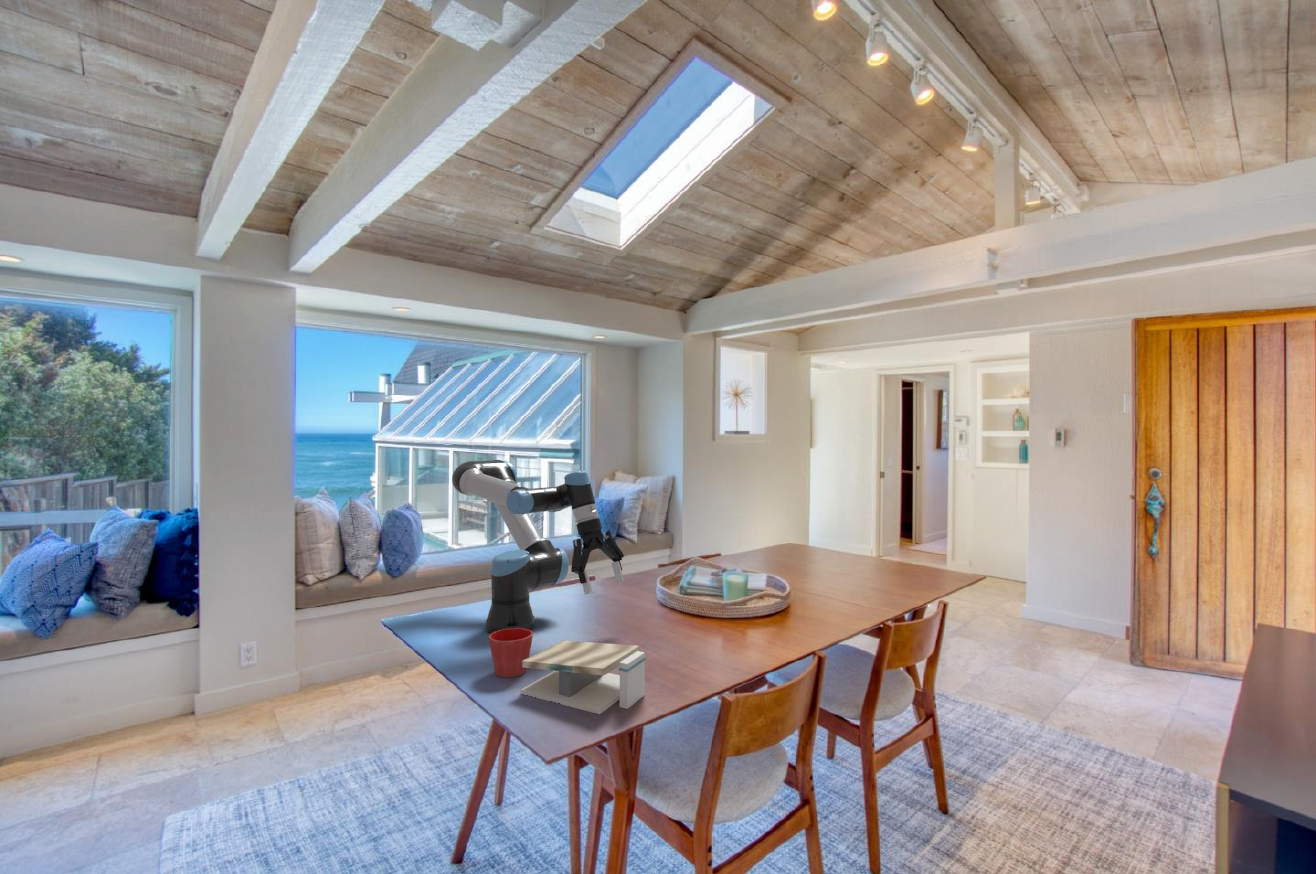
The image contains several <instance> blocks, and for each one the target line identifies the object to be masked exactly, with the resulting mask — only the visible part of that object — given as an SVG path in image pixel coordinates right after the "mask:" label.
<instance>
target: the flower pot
mask: <svg viewBox="0 0 1316 874" xmlns="http://www.w3.org/2000/svg"><path fill="white" fill-rule="evenodd" d="M533 636H534V632H533V631H532V630H528V629H523V628H509V629H502V630H499V631H496V632H493V633H489V635H488V641H489V647H490V652H491V659H492V664H493V667H494V671H495V672H494V673H495V675H496V676H498V677H501V678H515V677H519V676H522V675H524V674H525V673H526V672H527V670H528V668H524V667H522V661H523V660H525V659H527V658H529V657H530V654H531V648H532V644H533V643H532V641H533Z"/></svg>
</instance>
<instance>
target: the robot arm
mask: <svg viewBox="0 0 1316 874" xmlns="http://www.w3.org/2000/svg"><path fill="white" fill-rule="evenodd" d="M517 475H518V473H517V469H516V468H515V466H514V464H513V463H511V462H509V461H508V460H502V459H493V460H471V461H470V460H469V461H465V462H462V463H461V464H459V465H458V466H457V467H456V468H455V470H453V473H452V476H451V483H452V485H453V487H454V489H455V491H457V492H458V493H460V494H462V495H465V496H467V497H468V496H469V497H474V496H476V497H479V498H482V499H485V500H487V501H488V502H489V503H493V505H494V506H495V507H496V510H497V512H499V515H500V516H501V518H502V520H503V522H504V523H505V525H506V527H507V529H508V531H509V533H510V534H511V537H512V538H513V540H514V541H515V543H516V545H517V547H518V548H519V549H516V550H508V551H504V552H501V553H499V554H497V555H495V556H494V557H493V559H492V561H491V570H490V574H491V604H490V606H489V607H490V608H489V611H488V615H487V618H486V620H485V631H486V630H487V631H488V632H487V631H486V632H487V633H489V632H490V633H489V634H492V633H493V632H496V631H499V630H502V629H509V628H523V629H528V630H530V631H532V630H533V629H534V628H535V627H536V619H535V616H534V614H533V610H532V606H531V602H530V591H532V590H537V589H540V588H541V589H542V588H545V587H551V586H555V585H557V584H560V583H562V582H563V581H565V580H566V579H567V576H568V573H569V571H571V573H575V574H576V575H578V579H579V583H580V584H581V585H582V588H583V589H582V590H583V593H584V595H589V594H590V595H591V594H593V589H592V584H591V580H590V577H589V572H588V571H586V567H587V564H588V560H589V557H590V554H591V553H592V552H593V551H594V550H595V551H596V550H600V551H601V552H603V554H604V555H606V556H607V557H608V558H609V559H610V560H611V561H612V562H611V567H612V570H613V571H612V572H613V573H614V578H615V582H616V584H620V583H624V582H625V579H624V576H623V575H624V574H623V572H622V571H623V566H622V563H621V561H623V558H624V557H625V555H624V553H623V551H622V550H621V548H620V547H619V546H618V545H617V543H616V541H615V540H614V539H613V536H612V534H611V532H610V530H608V531H607V530H606V531H603V532H602V529H603V525H602V523H601V519H600V518H599V511H598V507H597V503H596V500H595V496H594V492H593V489H592V485H591V484H592V483H591V481H590V480H591V479H590V477H589V474H588V472H587V471H585V470H577V471H573V472H569V473H567V474H565V475H564V483H563V484H561V485H557V486H549V487H535V488H528V487H525V486H522V485H519V484H518V481H519V479H518V476H517ZM570 507H571V511H572V514H573V518H574V522H575V523H576V525H575V526H576V531H577V534H578V535H579V536H580V538H576V539H574V540H573V539H572V544H573V549H572V551H573V552H572V560H571V567H570V561H569V557H568V554H567V552H566V551H565V549H563V548H561V547H556V548H555V546H554V545H553V543H552V542H551V540H550V539H548V538H547V539H546V538H544V537H543V535H542V533H541V532H540V531H539V529H538V527H537V526H536V523H535V522H534V520H533V518H532V517H531V515H530V514H534V513H543V512H549V513H556V512H561V511H563V510H565V509H568V508H570ZM569 567H570V568H571V570H569Z"/></svg>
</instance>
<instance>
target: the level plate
mask: <svg viewBox="0 0 1316 874" xmlns="http://www.w3.org/2000/svg"><path fill="white" fill-rule="evenodd" d="M637 651H640V652H641V648H640V645H634V644H633V645H632V644H618V643H605V642H604V643H603V642H592V641H591V642H589V641H576V640H575V641H574V640H563V639H562V640H561V641H559V642H556V643H555V644H553V645H551V646H549V647H547V648H544V649H543V650H541V651H539V652H537V653H536V654H533V655H531V656H529V658H527V659H525V660H523V661H522V667H524V668H527V669H535V670H536V669H537V670H546V671H564V672H574V673H584V674H594V675H606V674H607V673H610V672H612V671H613V670H615V669H617V668H618V667H620V662H621V661H623V660H624V659H626V658H627V657H629V656H630V655H632V654H634V653H635V652H637Z"/></svg>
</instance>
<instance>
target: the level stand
mask: <svg viewBox="0 0 1316 874" xmlns="http://www.w3.org/2000/svg"><path fill="white" fill-rule="evenodd" d="M645 665H646V652H643V651H641V650H640V651H637V652H635V653H634V654H632V655H630V656H629V657H627V658H626V659H624V660H623V661H621V662H620V665H619V668H618V670H619V674H615V673H610V672H609V673H607V674H606V675H594V674H584V673H574V672H564V671H554V670H552V671H551V672H550V673H548V674H546V675H544V676H543V677H540V678H538V679H537V680H536V681H533V682H531V683H530V684H529V685H526V686H525V687H523V688H522V689H521V690H520V694H521V695H523V694H524V696H527V695H528V697H531V696H532V698H535V697H536V699H539V700H543V701H547V702H550V701H553V702H552V703H554V702H556V703H555V704H558V703H560V704H559V705H562V706H567V707H569V706H570V708H573V709H577V710H581V711H585V712H589V713H593V714H597V715H601V714H602V713H604V712H605V711H606V710H608V709H609V708H610V707H612V706H613V705H615V704H616V703H617V702H618V701H619V708H622V709H626V710H628V709H629V708H630V707H632V706H633V705H634V704H635V703H637V702H638V701H639V700H641V699H642V698H643V697H645V695H646V694H645V693H646V692H645V689H646V686H645V685H646V681H645V680H646V669H645V668H646V666H645Z"/></svg>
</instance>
